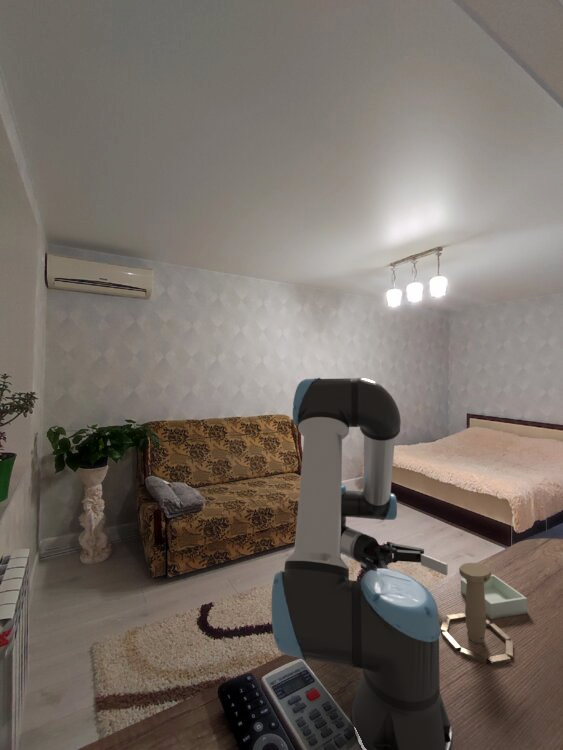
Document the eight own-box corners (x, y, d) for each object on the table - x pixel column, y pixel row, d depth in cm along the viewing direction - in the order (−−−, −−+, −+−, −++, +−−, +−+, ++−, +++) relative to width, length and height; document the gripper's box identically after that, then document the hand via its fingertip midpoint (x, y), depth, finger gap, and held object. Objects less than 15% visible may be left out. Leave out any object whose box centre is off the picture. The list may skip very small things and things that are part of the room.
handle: (497, 643, 72) (496, 572, 72) (474, 651, 70) (473, 578, 70) (476, 627, 76) (476, 560, 76) (455, 635, 74) (454, 566, 74)
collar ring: (471, 670, 65) (471, 666, 65) (429, 621, 78) (429, 618, 78) (529, 658, 68) (529, 654, 68) (479, 613, 81) (479, 610, 81)
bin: (491, 618, 79) (491, 603, 79) (460, 592, 89) (460, 578, 89) (527, 612, 81) (527, 598, 81) (493, 587, 91) (493, 574, 91)
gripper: (384, 545, 104) (456, 575, 88) (331, 577, 88) (408, 621, 72) (384, 521, 104) (456, 546, 88) (331, 548, 88) (407, 586, 72)
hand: (434, 580), depth 80 cm, fingers open, 13 cm apart
